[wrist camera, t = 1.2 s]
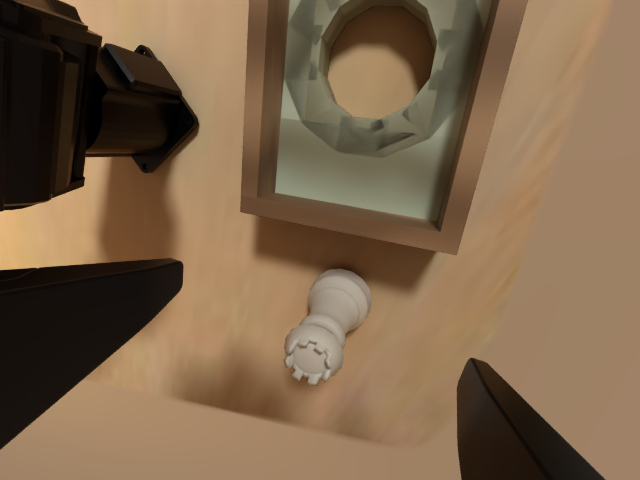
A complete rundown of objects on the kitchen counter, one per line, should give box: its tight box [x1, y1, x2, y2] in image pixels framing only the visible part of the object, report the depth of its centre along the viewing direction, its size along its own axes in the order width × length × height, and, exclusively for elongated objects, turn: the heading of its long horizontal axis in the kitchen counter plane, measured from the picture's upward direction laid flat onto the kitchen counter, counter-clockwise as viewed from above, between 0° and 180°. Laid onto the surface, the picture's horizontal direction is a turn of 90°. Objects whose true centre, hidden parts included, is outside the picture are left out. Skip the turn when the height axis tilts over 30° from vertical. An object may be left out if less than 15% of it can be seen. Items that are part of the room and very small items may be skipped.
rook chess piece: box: [284, 269, 372, 386], centre depth 19 cm, size 4×4×8 cm
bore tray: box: [240, 0, 528, 255], centre depth 16 cm, size 18×12×4 cm, turn 173°
